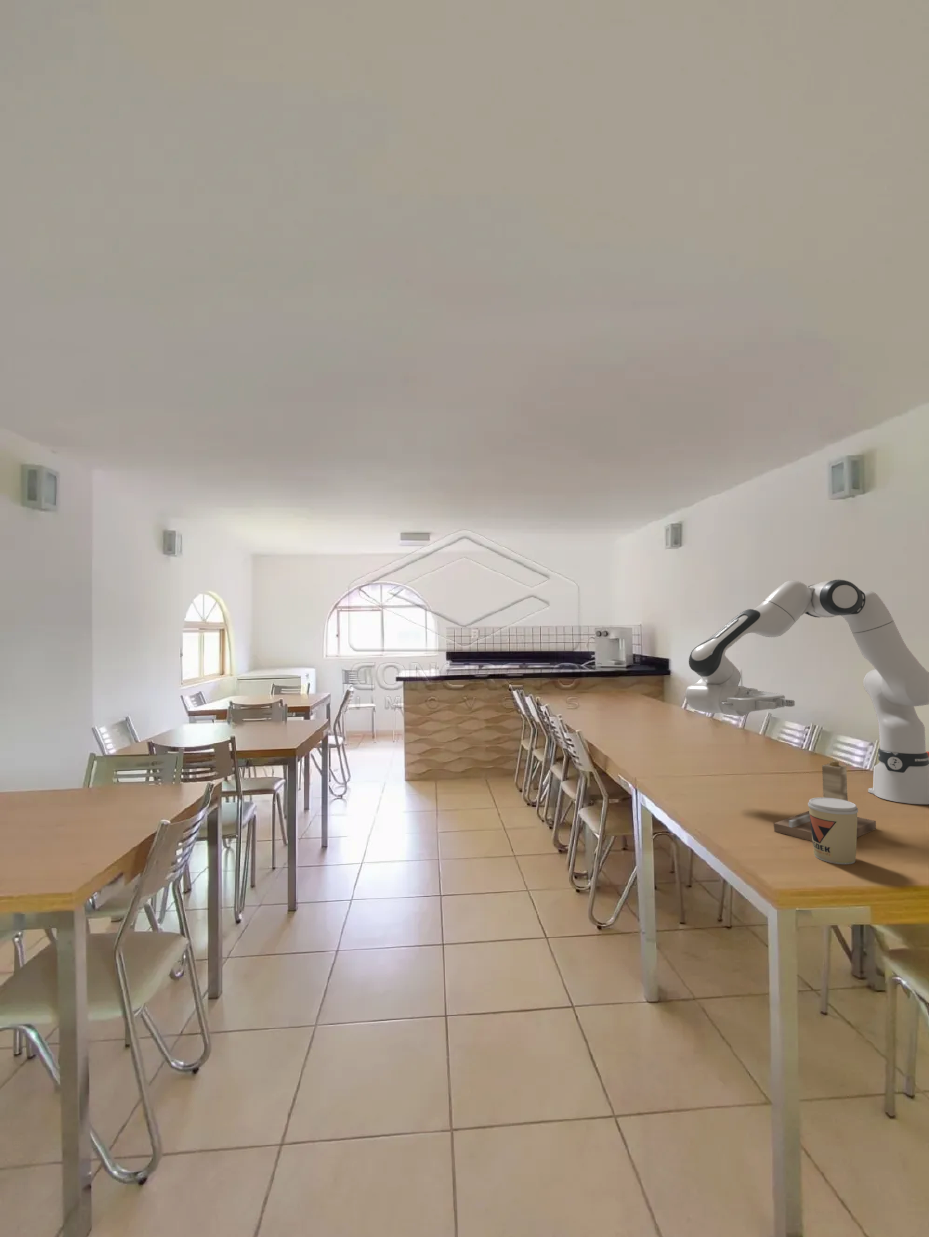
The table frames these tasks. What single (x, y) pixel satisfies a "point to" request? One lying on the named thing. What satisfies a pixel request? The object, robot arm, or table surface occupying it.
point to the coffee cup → (833, 829)
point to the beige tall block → (834, 781)
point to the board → (802, 826)
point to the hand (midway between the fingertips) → (784, 704)
